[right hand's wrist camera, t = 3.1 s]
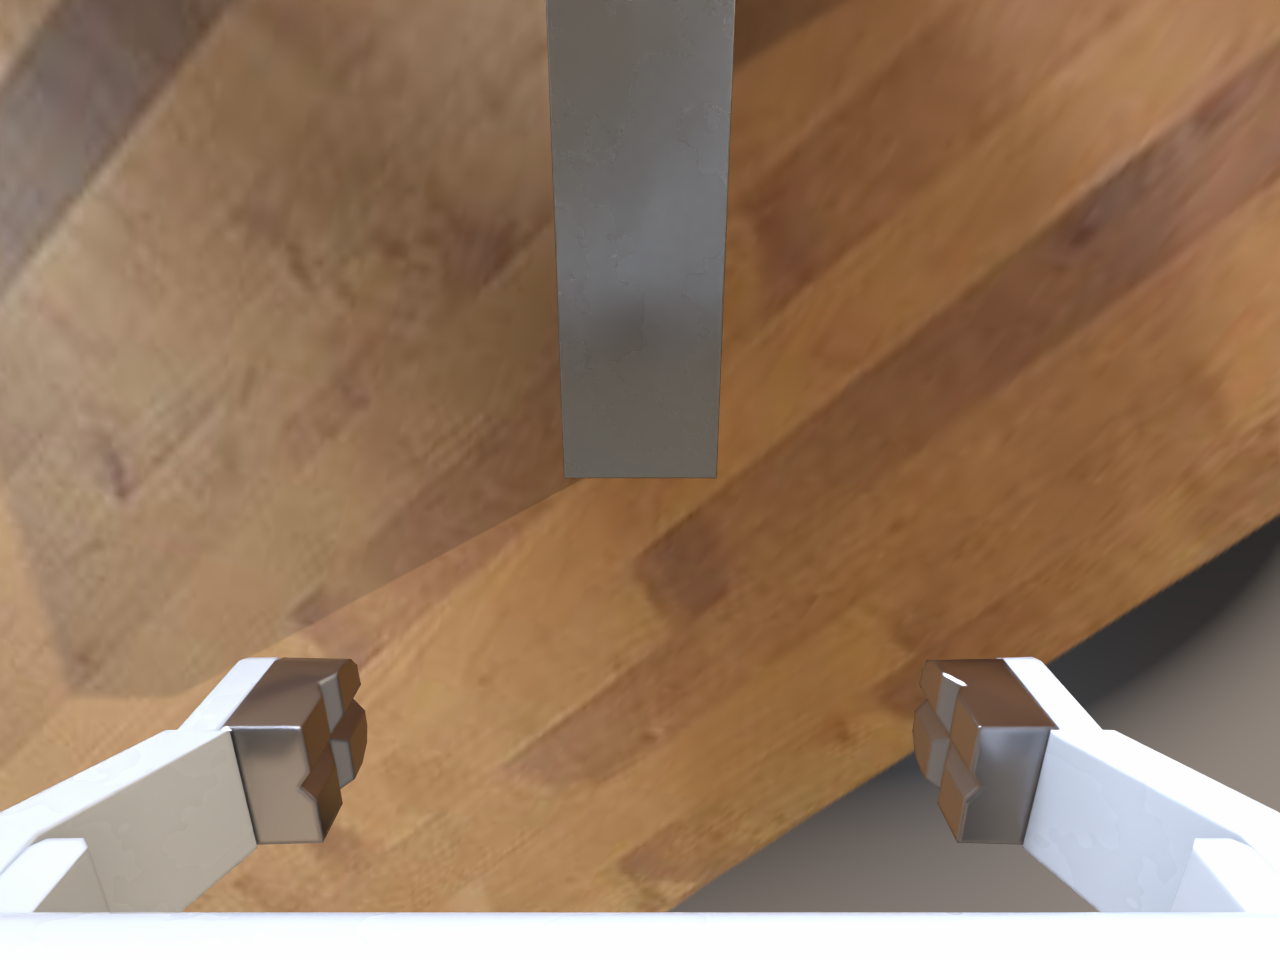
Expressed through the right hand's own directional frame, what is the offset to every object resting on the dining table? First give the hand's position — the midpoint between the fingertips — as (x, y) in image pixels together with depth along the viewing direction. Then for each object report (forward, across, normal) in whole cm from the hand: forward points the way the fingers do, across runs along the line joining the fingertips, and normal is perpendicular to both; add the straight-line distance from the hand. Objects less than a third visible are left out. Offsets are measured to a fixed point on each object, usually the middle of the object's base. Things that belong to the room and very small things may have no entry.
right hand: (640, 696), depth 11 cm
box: (+26, 0, -10) cm, 28 cm away
